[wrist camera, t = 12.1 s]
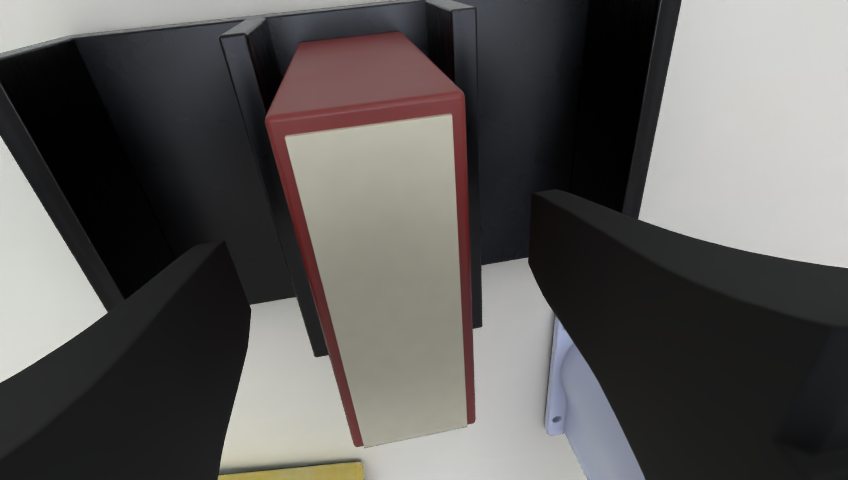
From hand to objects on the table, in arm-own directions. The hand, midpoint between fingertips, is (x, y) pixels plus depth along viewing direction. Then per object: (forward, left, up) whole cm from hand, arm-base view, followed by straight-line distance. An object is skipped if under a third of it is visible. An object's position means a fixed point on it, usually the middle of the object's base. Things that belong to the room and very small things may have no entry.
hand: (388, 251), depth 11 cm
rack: (0, 0, -6) cm, 6 cm away
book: (0, 0, -5) cm, 5 cm away
